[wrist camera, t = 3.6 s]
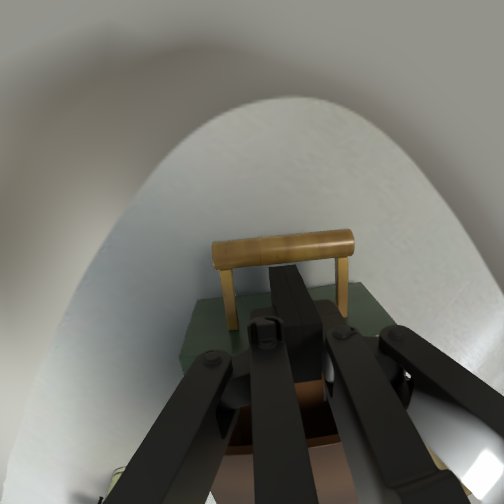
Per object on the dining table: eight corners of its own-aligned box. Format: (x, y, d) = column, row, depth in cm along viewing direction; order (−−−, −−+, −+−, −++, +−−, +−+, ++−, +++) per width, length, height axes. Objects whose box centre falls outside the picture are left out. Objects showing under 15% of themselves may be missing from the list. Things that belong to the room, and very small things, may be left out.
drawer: (184, 229, 19) (156, 263, 13) (360, 211, 19) (410, 237, 13) (228, 442, 25) (226, 499, 19) (347, 427, 25) (365, 481, 19)
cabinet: (207, 373, 24) (194, 455, 16) (359, 355, 24) (396, 428, 15) (234, 476, 29) (233, 537, 20) (343, 463, 28) (359, 521, 20)
